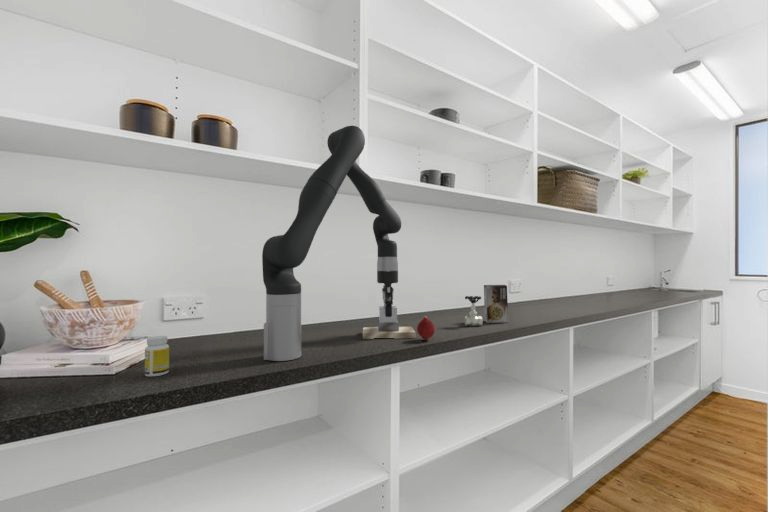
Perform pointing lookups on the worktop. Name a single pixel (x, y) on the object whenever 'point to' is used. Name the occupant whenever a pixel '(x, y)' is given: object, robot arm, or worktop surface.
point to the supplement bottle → (156, 356)
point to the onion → (426, 328)
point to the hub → (387, 319)
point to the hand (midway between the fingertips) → (388, 315)
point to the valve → (473, 313)
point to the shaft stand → (388, 331)
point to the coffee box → (495, 303)
